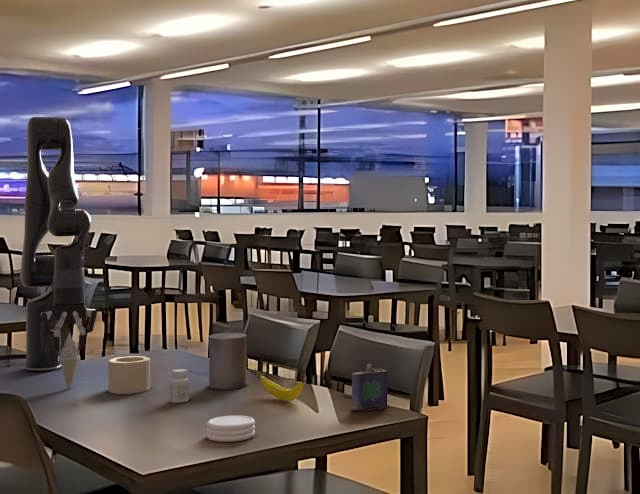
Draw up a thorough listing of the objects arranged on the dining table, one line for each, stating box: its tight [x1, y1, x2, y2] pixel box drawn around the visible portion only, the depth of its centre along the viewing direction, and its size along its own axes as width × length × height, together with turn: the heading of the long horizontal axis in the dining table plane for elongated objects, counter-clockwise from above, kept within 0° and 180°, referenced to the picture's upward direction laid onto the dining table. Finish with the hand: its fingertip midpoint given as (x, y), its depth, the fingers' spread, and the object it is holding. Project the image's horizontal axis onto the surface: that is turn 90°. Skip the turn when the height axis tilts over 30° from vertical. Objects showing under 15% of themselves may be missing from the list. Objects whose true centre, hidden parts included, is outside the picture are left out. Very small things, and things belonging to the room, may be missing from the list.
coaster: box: [206, 414, 256, 443], centre depth 203 cm, size 10×10×4 cm
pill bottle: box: [169, 368, 190, 404], centre depth 237 cm, size 4×4×8 cm
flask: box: [351, 363, 389, 412], centre depth 230 cm, size 9×3×11 cm, turn 121°
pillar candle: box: [208, 330, 247, 391], centre depth 256 cm, size 10×10×15 cm
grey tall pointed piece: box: [59, 332, 80, 390], centre depth 252 cm, size 5×5×15 cm
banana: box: [259, 375, 306, 402], centre depth 239 cm, size 3×19×6 cm, turn 45°
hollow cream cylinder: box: [108, 355, 151, 395], centre depth 251 cm, size 10×10×8 cm
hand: (69, 349), depth 252 cm, fingers open, 5 cm apart
